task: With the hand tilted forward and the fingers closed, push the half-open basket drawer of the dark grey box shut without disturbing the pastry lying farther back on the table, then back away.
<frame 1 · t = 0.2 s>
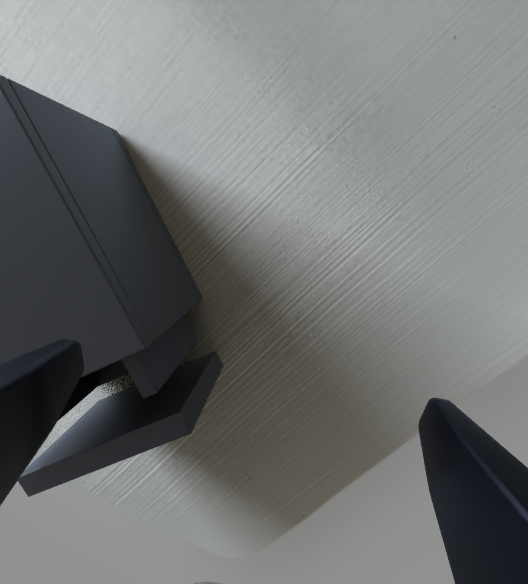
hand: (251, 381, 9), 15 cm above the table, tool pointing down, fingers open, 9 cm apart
fryer drawer: (99, 352, 20), point 5 cm above the table, slide at 3.5 cm
dark grey box: (93, 252, 24), on the table
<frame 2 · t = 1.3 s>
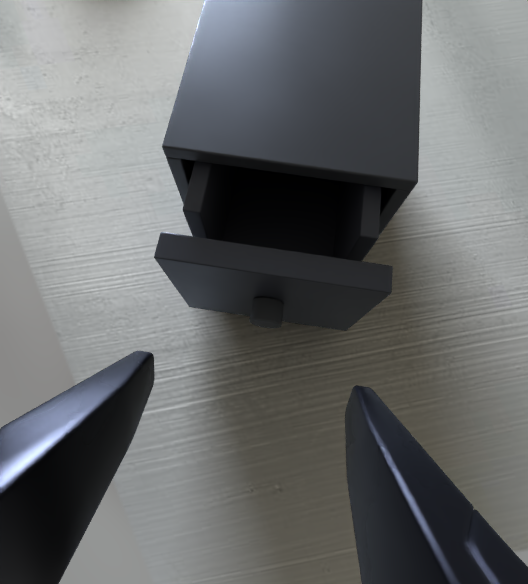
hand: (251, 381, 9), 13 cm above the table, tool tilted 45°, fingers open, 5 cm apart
fryer drawer: (281, 217, 19), point 5 cm above the table, slide at 3.5 cm
dark grey box: (288, 179, 25), on the table
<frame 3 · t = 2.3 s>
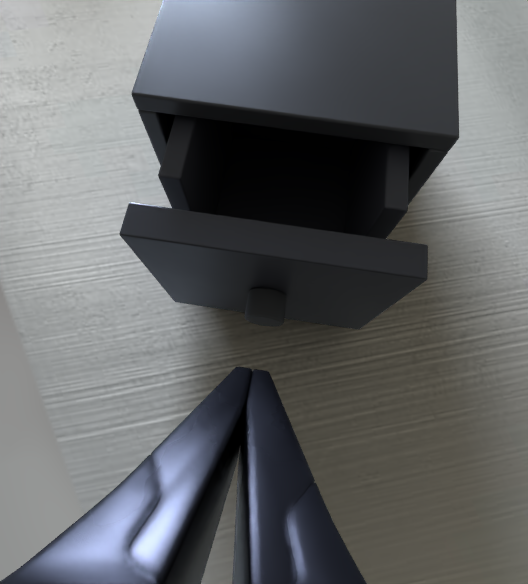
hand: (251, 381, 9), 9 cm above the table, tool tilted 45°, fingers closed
fryer drawer: (283, 193, 16), point 5 cm above the table, slide at 3.5 cm
dark grey box: (290, 157, 22), on the table
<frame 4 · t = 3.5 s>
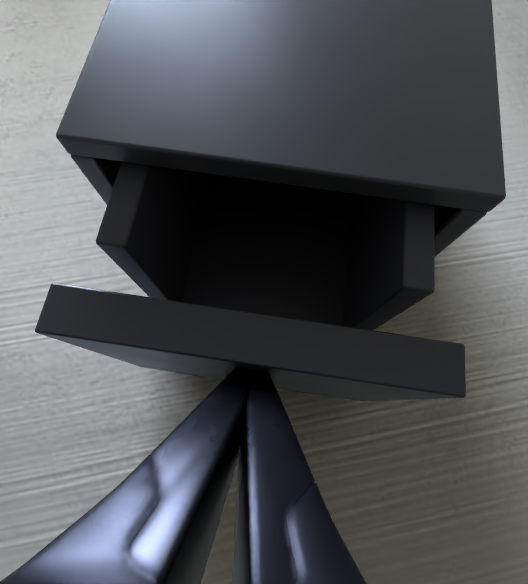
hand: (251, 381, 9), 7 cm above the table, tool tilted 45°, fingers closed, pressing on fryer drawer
fryer drawer: (270, 243, 13), point 5 cm above the table, slide at 3.4 cm, touching gripper
dark grey box: (282, 186, 19), on the table
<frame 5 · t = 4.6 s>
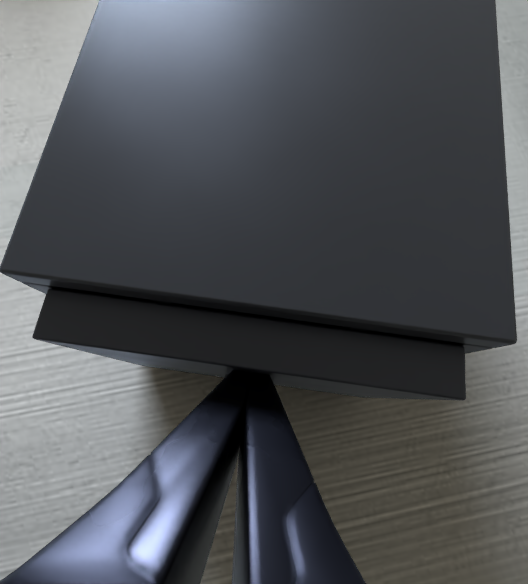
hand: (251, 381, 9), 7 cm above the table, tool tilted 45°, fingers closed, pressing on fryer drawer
fryer drawer: (269, 241, 13), point 5 cm above the table, slide at 0.0 cm, touching dark grey box, gripper
dark grey box: (272, 238, 18), on the table
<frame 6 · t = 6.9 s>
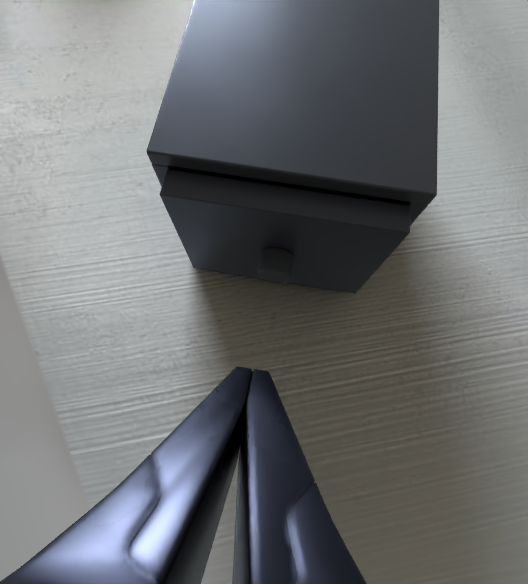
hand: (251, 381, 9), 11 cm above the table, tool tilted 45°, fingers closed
fryer drawer: (291, 170, 19), point 5 cm above the table, slide at 0.0 cm, touching dark grey box
dark grey box: (289, 186, 24), on the table
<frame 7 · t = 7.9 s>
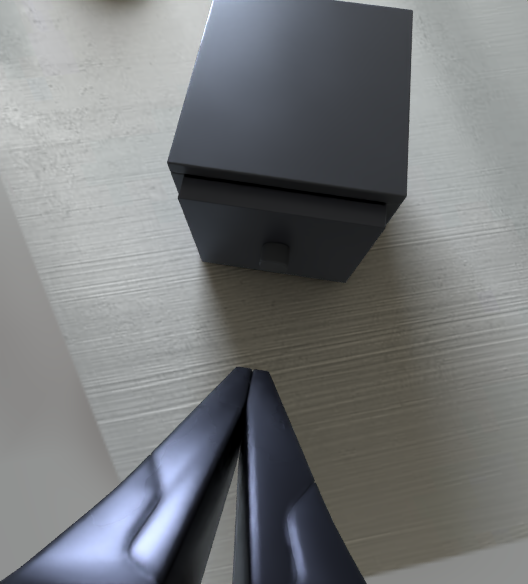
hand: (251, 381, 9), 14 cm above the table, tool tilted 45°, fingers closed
fryer drawer: (287, 175, 21), point 5 cm above the table, slide at 0.0 cm, touching dark grey box
dark grey box: (286, 188, 26), on the table
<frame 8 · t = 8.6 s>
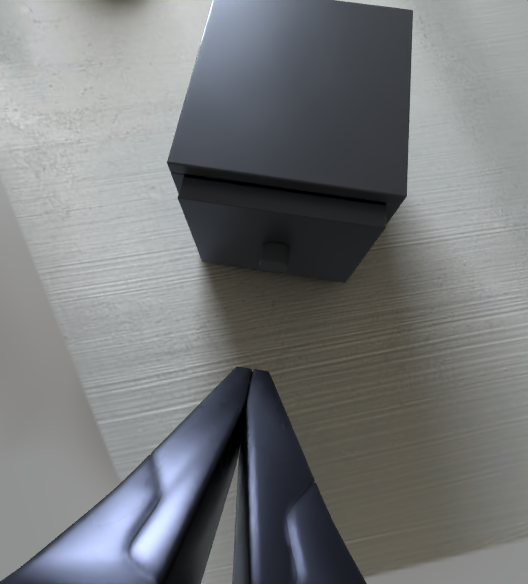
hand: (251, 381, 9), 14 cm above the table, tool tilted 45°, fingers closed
fryer drawer: (287, 175, 21), point 5 cm above the table, slide at 0.0 cm, touching dark grey box
dark grey box: (286, 188, 26), on the table
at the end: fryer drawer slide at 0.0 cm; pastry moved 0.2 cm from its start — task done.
